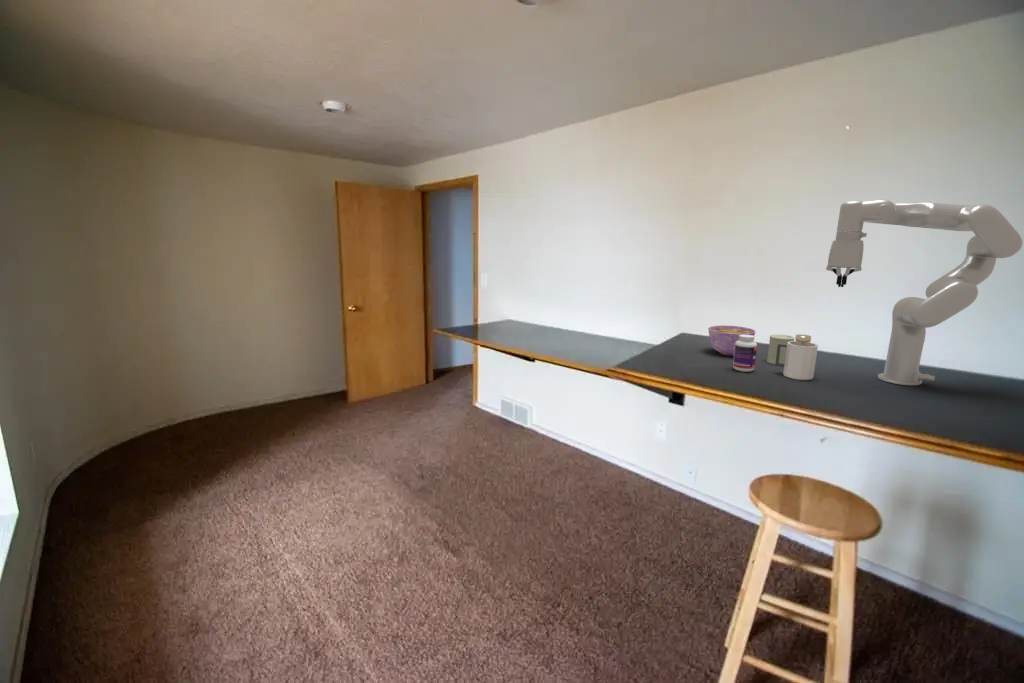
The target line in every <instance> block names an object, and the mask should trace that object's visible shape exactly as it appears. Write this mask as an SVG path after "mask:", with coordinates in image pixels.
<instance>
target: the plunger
mask: <svg viewBox="0 0 1024 683" xmlns="http://www.w3.org/2000/svg"><path fill="white" fill-rule="evenodd" d="M811 340H812V335H809V334H795V338H794V341H798V342H801V346H804V342H810V343H812V342H811Z"/></svg>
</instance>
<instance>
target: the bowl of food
mask: <svg viewBox="0 0 1024 683" xmlns="http://www.w3.org/2000/svg"><path fill="white" fill-rule="evenodd" d="M707 329H708V335H709V336H708V337H709V341H710V342H709V343H710V345H711V347H712V349H713V350H715V351H717V352H718V353H719V354H721V355H724V356H731V357H732V356H733V357H734V350H735V343H736V341H738V340H740V339H739V335H752V336H754V337H755V335H756V332H757V331H756V330H755V329H753V328H750V327H744V326H740V325H739V326H737V325H713V326H708V328H707Z"/></svg>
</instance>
